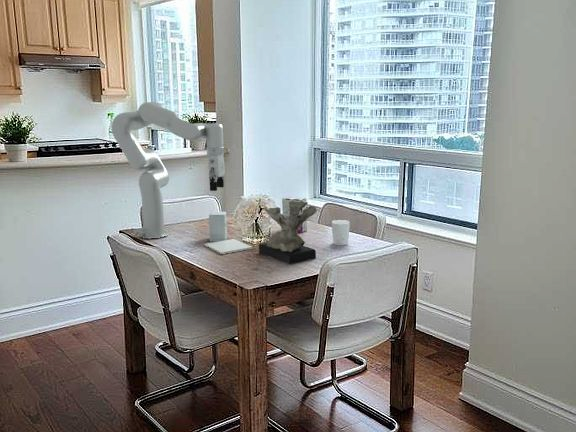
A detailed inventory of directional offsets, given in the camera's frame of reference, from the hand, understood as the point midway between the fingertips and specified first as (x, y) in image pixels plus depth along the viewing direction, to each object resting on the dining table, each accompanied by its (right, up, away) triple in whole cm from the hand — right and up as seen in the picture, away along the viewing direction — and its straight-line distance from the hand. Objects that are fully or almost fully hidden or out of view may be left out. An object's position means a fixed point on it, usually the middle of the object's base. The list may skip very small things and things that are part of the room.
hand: (217, 188), depth 260 cm
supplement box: (0, -24, +5) cm, 24 cm away
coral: (+33, -28, -19) cm, 48 cm away
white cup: (+56, -25, -5) cm, 61 cm away
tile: (+6, -26, -9) cm, 28 cm away
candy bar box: (+36, -20, +20) cm, 45 cm away
